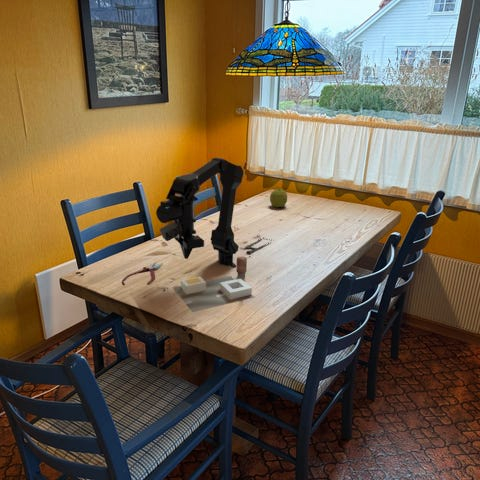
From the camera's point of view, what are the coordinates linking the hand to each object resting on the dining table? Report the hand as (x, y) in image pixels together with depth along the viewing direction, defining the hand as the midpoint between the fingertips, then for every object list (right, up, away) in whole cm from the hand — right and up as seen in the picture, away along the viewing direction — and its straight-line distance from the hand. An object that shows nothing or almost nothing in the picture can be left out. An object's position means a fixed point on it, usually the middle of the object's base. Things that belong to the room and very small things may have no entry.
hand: (186, 258), depth 153 cm
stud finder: (+3, -10, -2) cm, 11 cm away
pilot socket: (+17, -11, -4) cm, 21 cm away
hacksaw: (+25, +4, +42) cm, 50 cm away
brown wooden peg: (+19, -9, +7) cm, 22 cm away
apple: (+40, +25, +96) cm, 107 cm away
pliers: (-14, -8, +9) cm, 19 cm away
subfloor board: (+10, -13, -4) cm, 16 cm away
